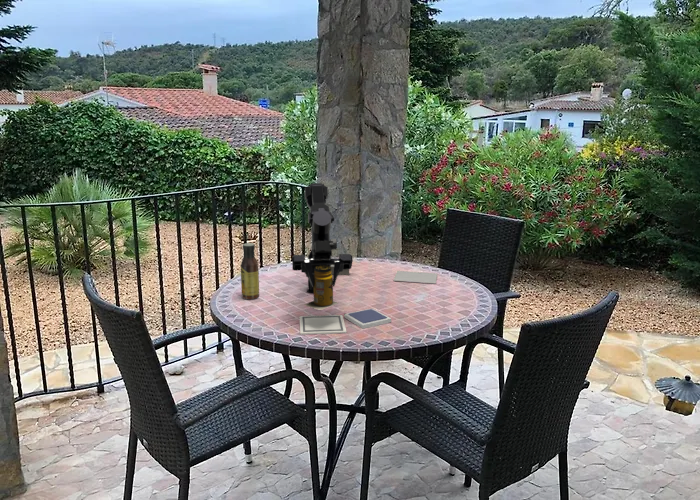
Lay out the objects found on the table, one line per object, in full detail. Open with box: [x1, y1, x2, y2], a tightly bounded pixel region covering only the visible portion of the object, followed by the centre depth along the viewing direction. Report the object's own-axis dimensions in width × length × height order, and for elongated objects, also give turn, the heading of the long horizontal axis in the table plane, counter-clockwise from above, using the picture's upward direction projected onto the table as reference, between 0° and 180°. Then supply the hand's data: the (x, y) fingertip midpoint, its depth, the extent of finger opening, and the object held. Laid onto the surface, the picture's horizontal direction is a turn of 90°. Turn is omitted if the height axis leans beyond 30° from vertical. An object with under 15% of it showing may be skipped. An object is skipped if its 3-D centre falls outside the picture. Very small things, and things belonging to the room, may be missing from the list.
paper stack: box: [393, 270, 438, 284], centre depth 220 cm, size 23×25×1 cm
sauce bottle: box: [240, 242, 260, 300], centre depth 196 cm, size 6×6×20 cm
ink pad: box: [343, 308, 392, 330], centre depth 178 cm, size 11×11×2 cm
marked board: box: [299, 314, 347, 336], centre depth 173 cm, size 14×14×1 cm
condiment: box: [303, 265, 339, 311], centre depth 170 cm, size 7×8×12 cm
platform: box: [331, 265, 350, 276], centre depth 226 cm, size 12×18×7 cm, turn 94°
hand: (323, 286), depth 169 cm, fingers closed on condiment, 6 cm apart
